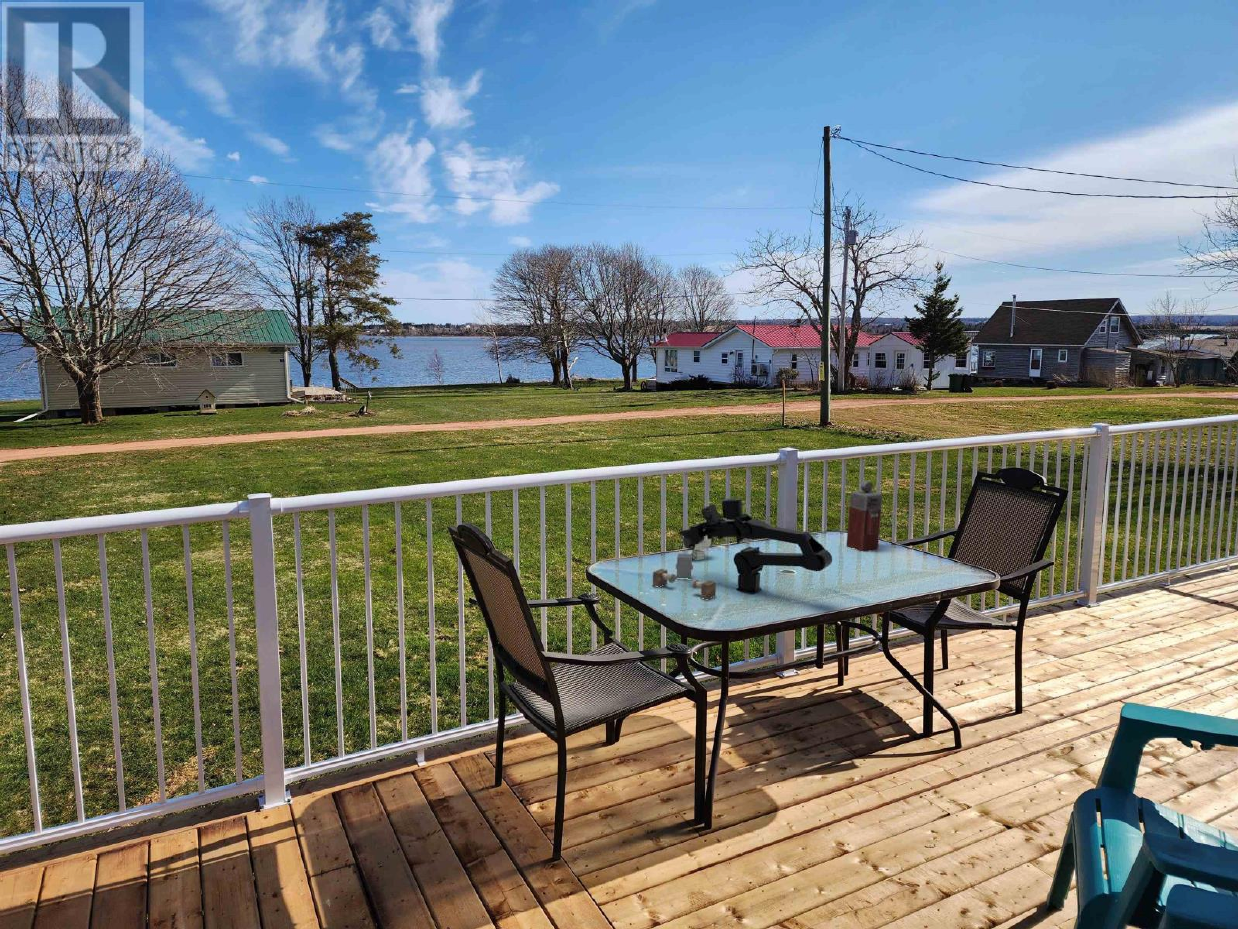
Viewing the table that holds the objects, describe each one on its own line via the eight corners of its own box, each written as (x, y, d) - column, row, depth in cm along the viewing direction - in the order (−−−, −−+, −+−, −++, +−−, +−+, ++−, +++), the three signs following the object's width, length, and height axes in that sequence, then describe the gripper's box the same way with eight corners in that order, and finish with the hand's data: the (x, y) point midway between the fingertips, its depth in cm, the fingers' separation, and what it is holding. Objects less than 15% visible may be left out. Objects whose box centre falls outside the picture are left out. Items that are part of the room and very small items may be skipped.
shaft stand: (715, 596, 252) (716, 581, 251) (707, 600, 248) (708, 585, 247) (660, 582, 265) (661, 568, 264) (652, 586, 261) (653, 572, 260)
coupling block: (692, 576, 274) (693, 554, 272) (692, 580, 269) (693, 558, 267) (675, 575, 274) (676, 553, 273) (675, 579, 269) (675, 557, 268)
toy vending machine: (866, 553, 310) (871, 484, 305) (846, 546, 319) (851, 480, 315) (882, 551, 314) (888, 483, 309) (862, 544, 323) (867, 478, 319)
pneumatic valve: (681, 559, 294) (683, 529, 292) (705, 555, 300) (707, 525, 298) (690, 563, 289) (691, 532, 287) (714, 559, 295) (716, 528, 293)
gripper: (735, 500, 269) (696, 501, 278) (708, 512, 254) (669, 513, 264) (739, 531, 270) (700, 531, 279) (713, 544, 255) (673, 544, 265)
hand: (686, 529), depth 272 cm, fingers open, 9 cm apart
